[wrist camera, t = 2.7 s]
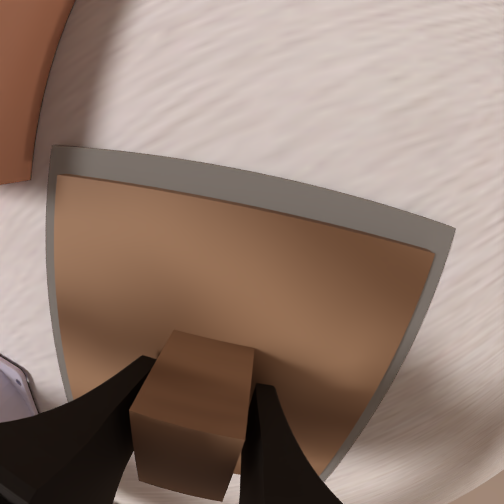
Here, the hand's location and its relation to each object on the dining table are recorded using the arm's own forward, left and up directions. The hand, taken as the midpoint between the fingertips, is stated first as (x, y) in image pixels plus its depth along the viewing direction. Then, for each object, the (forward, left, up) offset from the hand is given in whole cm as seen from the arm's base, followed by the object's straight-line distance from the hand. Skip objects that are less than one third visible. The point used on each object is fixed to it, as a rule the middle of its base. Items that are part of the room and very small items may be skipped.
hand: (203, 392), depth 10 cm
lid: (0, 0, -1) cm, 1 cm away
